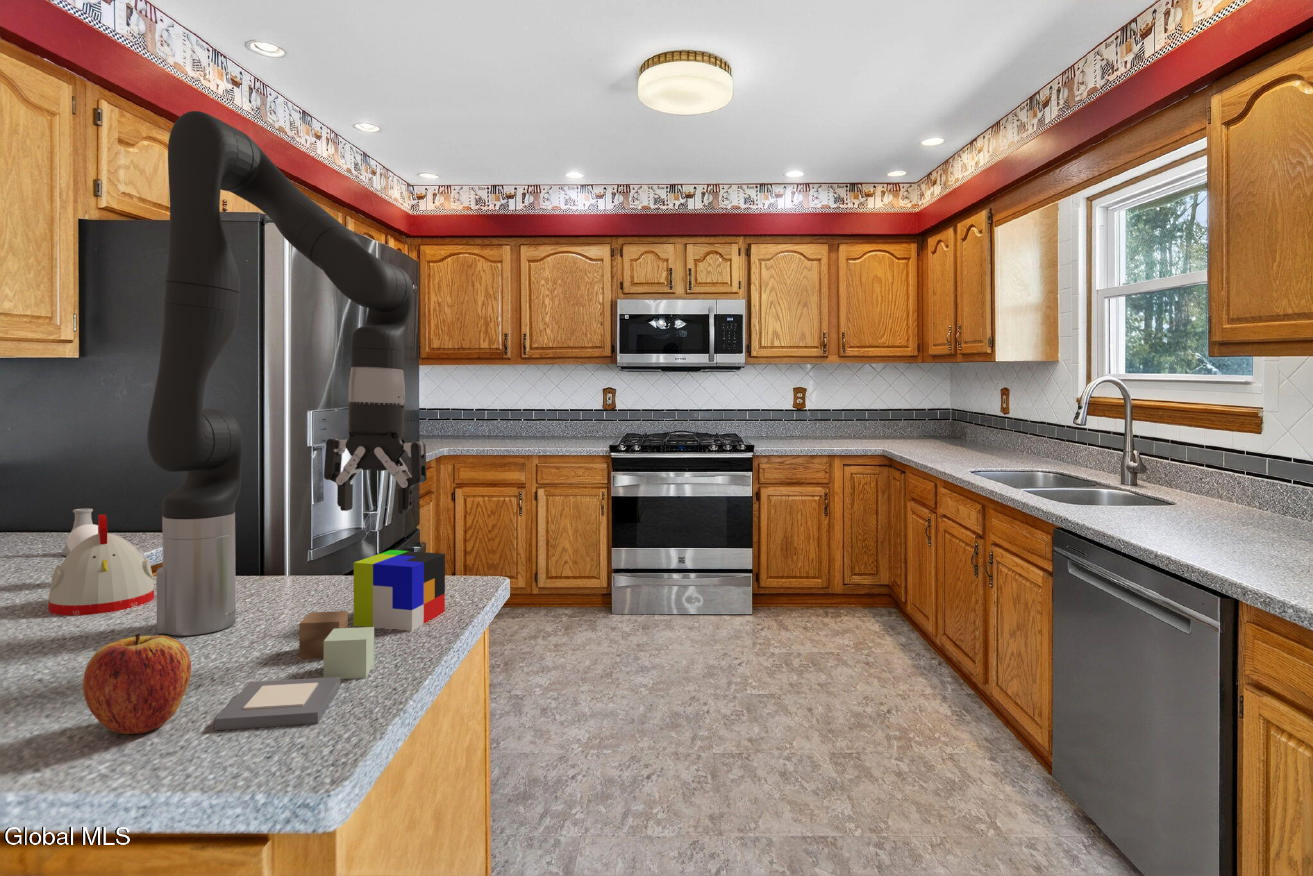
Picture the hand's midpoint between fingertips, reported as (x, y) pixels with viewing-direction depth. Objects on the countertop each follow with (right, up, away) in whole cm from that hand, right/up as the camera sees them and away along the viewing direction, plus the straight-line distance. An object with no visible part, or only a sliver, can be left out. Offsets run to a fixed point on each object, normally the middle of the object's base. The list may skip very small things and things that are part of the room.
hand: (375, 511), depth 101 cm
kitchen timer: (-52, -17, +16) cm, 58 cm away
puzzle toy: (0, -19, +11) cm, 22 cm away
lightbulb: (-65, -17, +29) cm, 73 cm away
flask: (-86, -15, +52) cm, 101 cm away
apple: (-14, -20, -28) cm, 37 cm away
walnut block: (-5, -19, -5) cm, 20 cm away
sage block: (+1, -20, -11) cm, 23 cm away
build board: (-2, -20, -22) cm, 30 cm away
